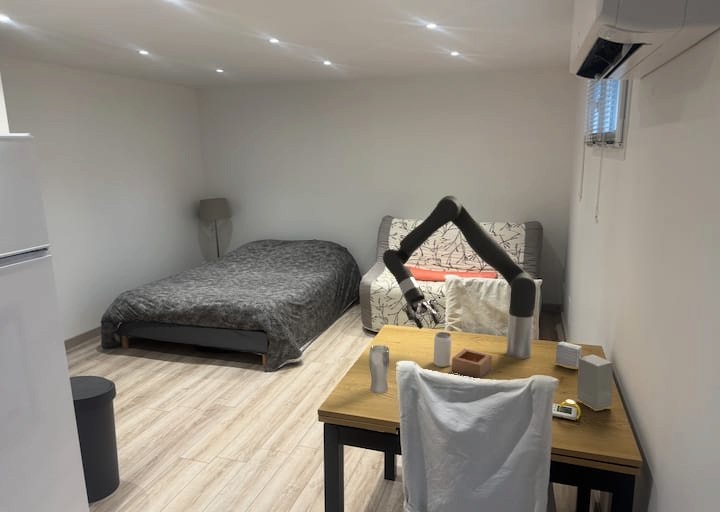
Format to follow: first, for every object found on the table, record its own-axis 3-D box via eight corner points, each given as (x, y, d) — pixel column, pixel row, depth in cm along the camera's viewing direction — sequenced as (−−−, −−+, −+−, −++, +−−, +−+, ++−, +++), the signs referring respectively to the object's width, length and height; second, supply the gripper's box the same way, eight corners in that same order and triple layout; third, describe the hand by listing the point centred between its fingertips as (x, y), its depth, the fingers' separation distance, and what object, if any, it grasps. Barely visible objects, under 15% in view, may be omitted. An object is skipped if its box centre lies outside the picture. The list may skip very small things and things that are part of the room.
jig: (463, 363, 194) (464, 348, 193) (490, 370, 188) (491, 355, 186) (451, 373, 185) (452, 358, 184) (479, 380, 179) (480, 365, 178)
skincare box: (611, 409, 159) (616, 362, 156) (593, 413, 157) (598, 366, 153) (590, 397, 167) (595, 352, 164) (573, 401, 164) (578, 355, 161)
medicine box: (580, 367, 190) (582, 346, 188) (576, 371, 187) (578, 349, 185) (559, 361, 195) (561, 340, 194) (555, 365, 192) (556, 344, 191)
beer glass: (382, 396, 168) (383, 354, 165) (365, 391, 171) (365, 349, 168) (392, 388, 173) (393, 347, 170) (375, 383, 177) (375, 343, 174)
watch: (579, 420, 153) (582, 402, 152) (578, 424, 151) (581, 406, 150) (558, 414, 156) (561, 396, 155) (557, 418, 154) (560, 400, 152)
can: (450, 368, 190) (451, 338, 187) (433, 366, 191) (434, 337, 188) (450, 361, 196) (452, 332, 193) (434, 360, 197) (435, 331, 195)
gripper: (402, 288, 197) (420, 324, 190) (429, 283, 205) (448, 317, 198) (393, 298, 202) (411, 333, 196) (420, 293, 210) (438, 326, 203)
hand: (429, 325), depth 197 cm, fingers open, 8 cm apart
